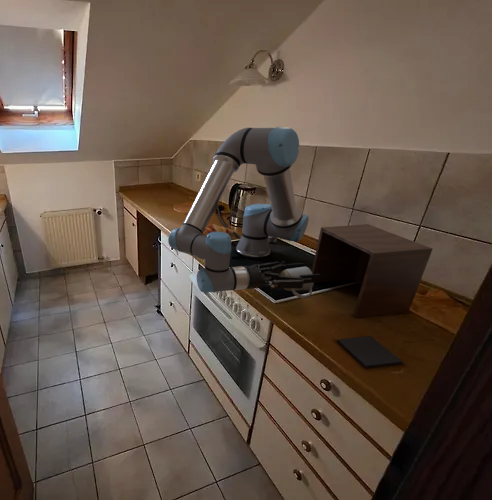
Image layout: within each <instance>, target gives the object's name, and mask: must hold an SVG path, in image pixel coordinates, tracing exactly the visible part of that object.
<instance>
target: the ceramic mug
mask: <svg viewBox="0 0 492 500" xmlns="http://www.w3.org/2000/svg"><path fill="white" fill-rule="evenodd" d="M308 274H312V269H310V268H309V267H307V266H304V267H298V268H292V269H286V270H283V271H281V272H280V274H279V275H285V276H296V277H300V275H308ZM314 284H315V283H305V284H303V287H302V288H288V289H284V290H285V291H289V292H292V294H293V295H294V296H295V297H296V298H299V299H303V300H305V299H309V298H310V297H311V296H312V294H313V287H314V286H315V285H314ZM297 291H308V292H309V294H308V295H304V294H300V293H298V292H297Z"/></svg>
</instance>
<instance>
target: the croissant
mask: <svg viewBox="0 0 492 500" xmlns="http://www.w3.org/2000/svg"><path fill="white" fill-rule="evenodd" d="M229 228H230V227H229ZM229 228H226V227H225V226H224V225H219V226H218V225H217V224H207V226H206V228H205V230H204V232H203V234H202V235H205V236H207V235H208V234H209V233H211V232H224V233H227V234H229V235H230V236H231V235H233V234H234V233H233V231H234V230H233V229H231V228H230V229H229Z"/></svg>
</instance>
